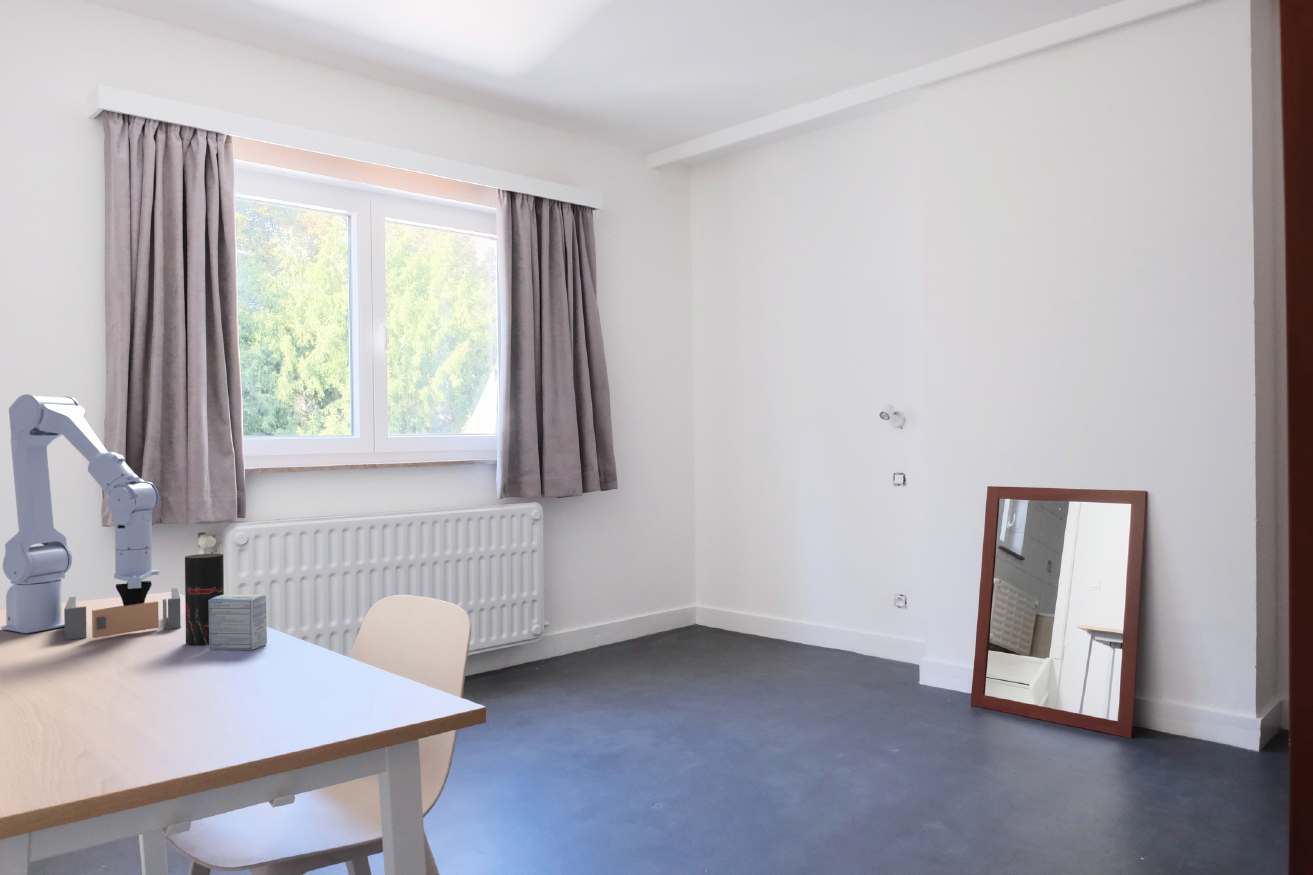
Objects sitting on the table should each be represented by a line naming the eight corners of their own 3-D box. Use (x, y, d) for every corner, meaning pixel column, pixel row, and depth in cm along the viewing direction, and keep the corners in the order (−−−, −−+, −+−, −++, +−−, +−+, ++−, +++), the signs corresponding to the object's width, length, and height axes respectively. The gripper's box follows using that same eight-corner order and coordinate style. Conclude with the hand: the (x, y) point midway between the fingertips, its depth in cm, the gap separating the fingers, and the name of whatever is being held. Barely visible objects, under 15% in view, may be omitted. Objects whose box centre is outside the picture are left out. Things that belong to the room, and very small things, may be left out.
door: (92, 637, 152) (92, 610, 152) (156, 626, 161) (156, 601, 161) (95, 638, 151) (95, 611, 151) (159, 627, 160) (159, 601, 160)
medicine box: (267, 644, 147) (267, 594, 147) (253, 651, 143) (252, 598, 143) (224, 644, 148) (223, 593, 148) (208, 650, 144) (207, 598, 144)
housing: (69, 626, 165) (69, 597, 165) (177, 615, 174) (177, 587, 174) (64, 639, 153) (64, 608, 153) (180, 627, 162) (180, 598, 162)
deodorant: (212, 645, 147) (212, 557, 147) (178, 646, 147) (177, 558, 147) (230, 637, 153) (229, 553, 153) (197, 638, 153) (196, 553, 153)
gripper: (160, 551, 154) (160, 626, 154) (157, 542, 167) (157, 612, 167) (114, 554, 151) (114, 631, 151) (114, 544, 163) (114, 616, 163)
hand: (133, 622), depth 158 cm, fingers closed, pressing on door
